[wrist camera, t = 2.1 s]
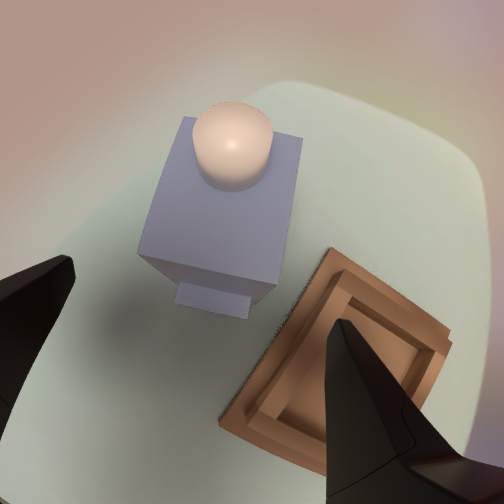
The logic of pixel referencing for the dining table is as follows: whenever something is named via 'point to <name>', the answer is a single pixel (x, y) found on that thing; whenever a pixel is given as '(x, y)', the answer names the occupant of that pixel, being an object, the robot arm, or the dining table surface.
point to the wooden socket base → (314, 357)
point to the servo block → (223, 209)
